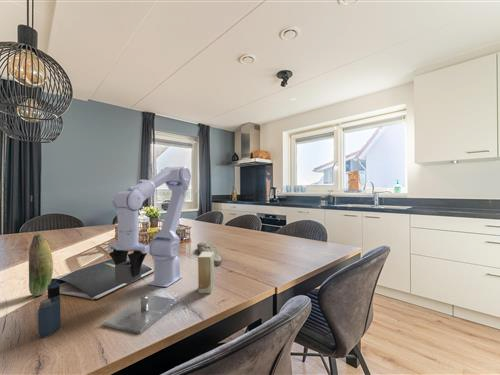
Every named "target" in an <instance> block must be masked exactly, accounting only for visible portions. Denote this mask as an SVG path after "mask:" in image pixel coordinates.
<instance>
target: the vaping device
mask: <svg viewBox="0 0 500 375" xmlns="http://www.w3.org/2000/svg"><path fill="white" fill-rule="evenodd" d="M60 285H61V284H60V282H57V279H53V280H52V279H51V282H50V284H49V285H48V289H47V298H46V299H43V300H41V301H40V304H39V306H38V309H37V332H38V336H39V338H47V337H50V336H51V335H52V334H53V333H55V332H56V331H57V330H59V329H60V328H61V326H62V322H61V319H62V318H61V316H62V315H61V290H60V288H61V286H60Z"/></svg>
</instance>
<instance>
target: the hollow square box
mask: <svg viewBox="0 0 500 375" xmlns="http://www.w3.org/2000/svg"><path fill="white" fill-rule="evenodd" d="M114 269H115V270H114V278H115V279H114V282H115V283H121V284H125V285H126V284H127V285H129V284H131V283H133V282H135V281H138V280H139V279H141V278H142V268H141V269H140V273H139V275H137V276H135V277H132V272H131V263H130V260H129V259H128V260H126V261H125V262H123V263H120V264H117V265H115V264H114Z"/></svg>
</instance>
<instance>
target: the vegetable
mask: <svg viewBox="0 0 500 375" xmlns="http://www.w3.org/2000/svg"><path fill="white" fill-rule="evenodd" d="M53 260H54V259H53V255H52V250H51V247H50V245H49V242H48V241H47V240H46V239H45V238H44V236H43V235H42V234H35V235H34V236H33V238H32V240H31V244H30V246H29V251H28V289H29V293H30V294H31V295H32V296H35V297H39V296H42V295H43V294H44V293H46V292H47V291H48V285H49V284H51V281H52V278H53V272H54V261H53Z"/></svg>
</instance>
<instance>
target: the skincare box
mask: <svg viewBox="0 0 500 375" xmlns="http://www.w3.org/2000/svg"><path fill="white" fill-rule="evenodd" d="M214 268H215V266H214V252H202V253H201V254H200V253H199V255H198V257H197V271H198V272H197V273H198V277H197V280H198V281H197V282H198V286H197V287H198V290H197V291H198V294H211V293H212V292H213V290H214V286H215V269H214Z"/></svg>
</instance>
